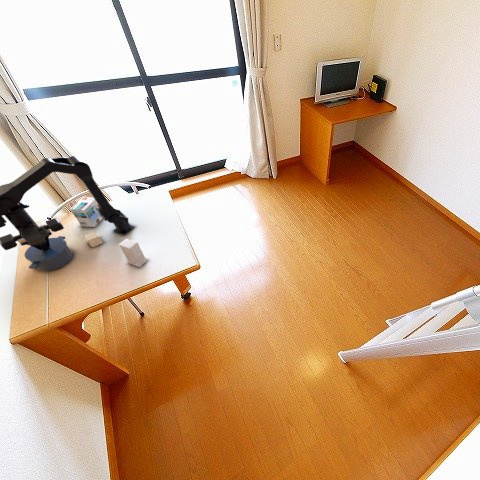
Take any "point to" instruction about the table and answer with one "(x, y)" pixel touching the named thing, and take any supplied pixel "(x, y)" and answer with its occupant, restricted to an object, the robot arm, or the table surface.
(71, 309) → the table surface
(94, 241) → the block
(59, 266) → the pot
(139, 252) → the cosmetic box
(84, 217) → the light bulb box
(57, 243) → the lid
